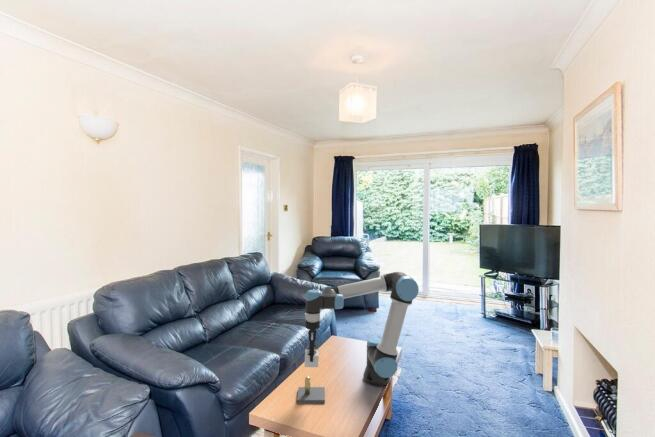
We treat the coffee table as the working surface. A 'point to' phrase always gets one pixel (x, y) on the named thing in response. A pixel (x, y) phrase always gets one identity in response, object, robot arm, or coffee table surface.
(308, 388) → the pin
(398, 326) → the robot arm
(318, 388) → the keeper plate
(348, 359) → the coffee table surface
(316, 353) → the steel collar
